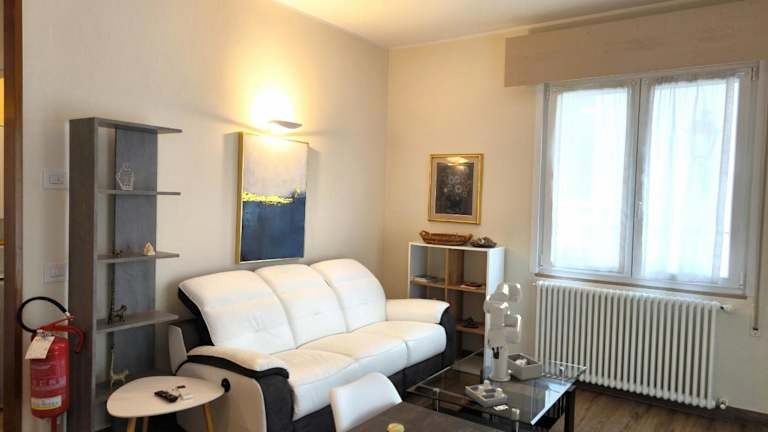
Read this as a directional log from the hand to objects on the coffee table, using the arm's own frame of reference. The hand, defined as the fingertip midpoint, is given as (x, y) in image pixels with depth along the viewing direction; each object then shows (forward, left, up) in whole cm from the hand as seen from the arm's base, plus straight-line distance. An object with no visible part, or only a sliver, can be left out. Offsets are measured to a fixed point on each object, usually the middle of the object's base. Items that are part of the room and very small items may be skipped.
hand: (496, 358), depth 302 cm
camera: (-33, -19, -19) cm, 42 cm away
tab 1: (+14, +6, -18) cm, 23 cm away
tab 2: (+6, 0, -18) cm, 18 cm away
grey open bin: (-32, -19, -19) cm, 42 cm away
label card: (+10, +20, -19) cm, 29 cm away
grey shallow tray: (+10, +6, -19) cm, 22 cm away
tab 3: (+6, +12, -18) cm, 22 cm away
